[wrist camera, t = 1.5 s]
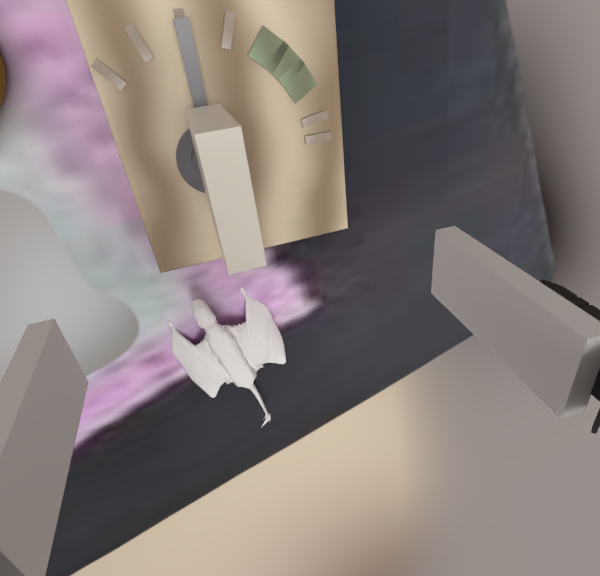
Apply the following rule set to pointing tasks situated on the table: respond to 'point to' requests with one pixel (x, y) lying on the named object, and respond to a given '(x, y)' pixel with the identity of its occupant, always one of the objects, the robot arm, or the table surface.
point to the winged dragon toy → (230, 348)
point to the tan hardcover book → (238, 103)
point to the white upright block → (218, 166)
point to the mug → (2, 80)
